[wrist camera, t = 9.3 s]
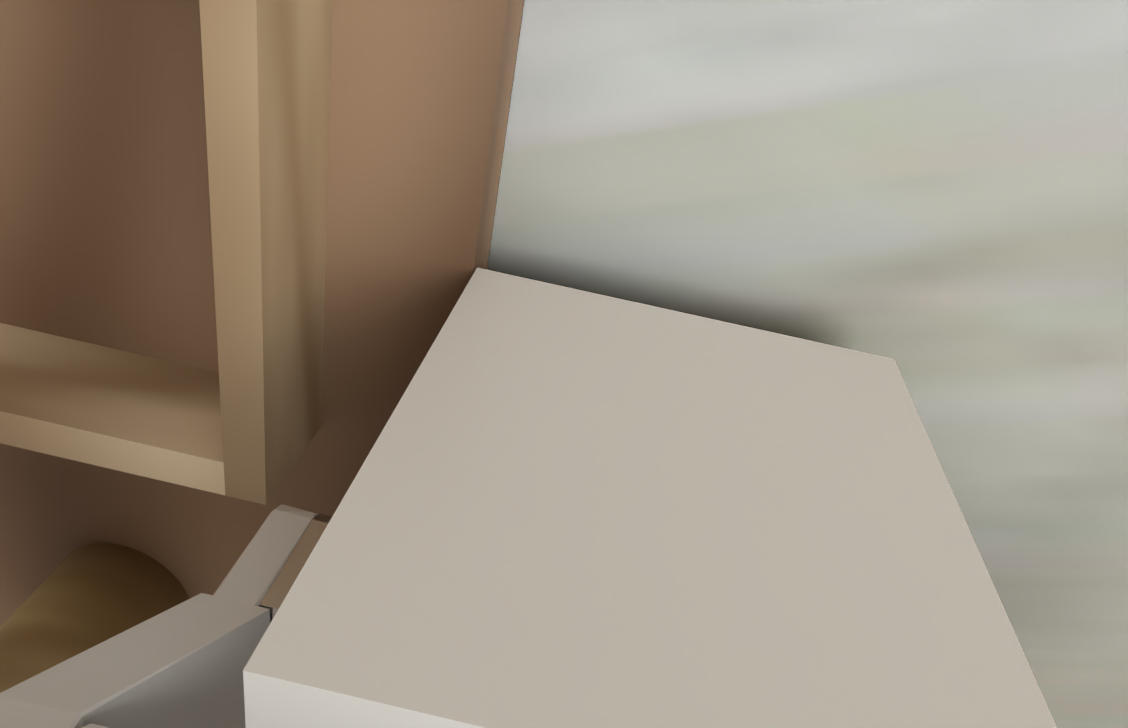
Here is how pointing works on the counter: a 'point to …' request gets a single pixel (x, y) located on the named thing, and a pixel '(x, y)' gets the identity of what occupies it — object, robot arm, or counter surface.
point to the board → (218, 276)
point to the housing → (642, 541)
